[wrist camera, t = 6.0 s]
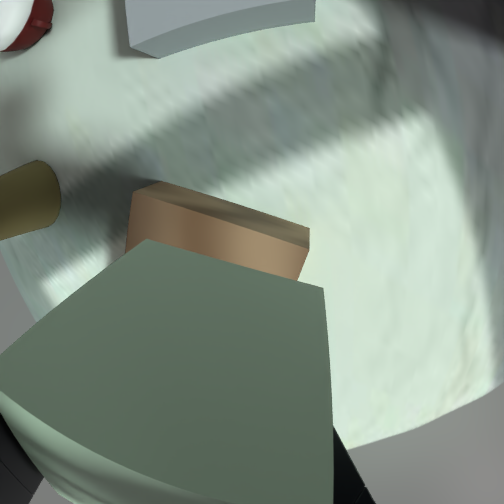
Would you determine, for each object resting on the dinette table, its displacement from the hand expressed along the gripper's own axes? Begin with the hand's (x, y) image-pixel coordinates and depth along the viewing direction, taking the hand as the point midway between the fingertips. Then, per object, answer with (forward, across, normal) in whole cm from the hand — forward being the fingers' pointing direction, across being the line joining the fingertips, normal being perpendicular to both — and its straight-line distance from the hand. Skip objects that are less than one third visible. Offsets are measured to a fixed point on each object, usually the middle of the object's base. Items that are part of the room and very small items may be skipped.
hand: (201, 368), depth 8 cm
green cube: (+2, 0, 0) cm, 2 cm away
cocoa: (+13, +24, -14) cm, 30 cm away
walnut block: (+13, +2, +4) cm, 14 cm away
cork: (+13, +20, +2) cm, 24 cm away
